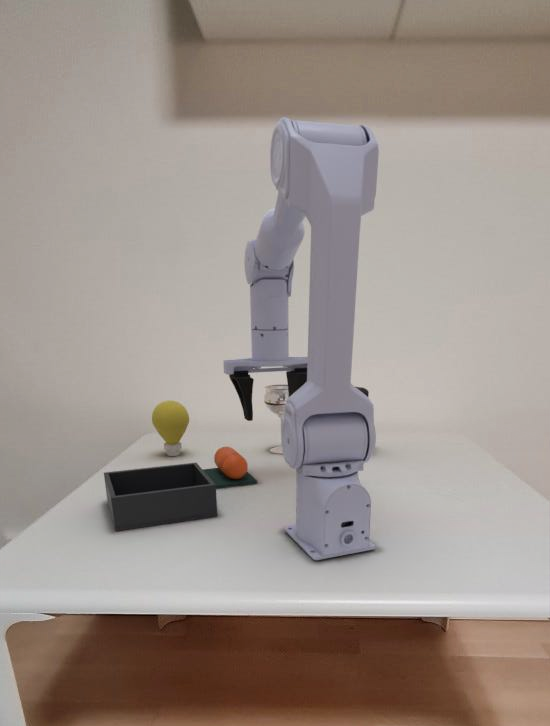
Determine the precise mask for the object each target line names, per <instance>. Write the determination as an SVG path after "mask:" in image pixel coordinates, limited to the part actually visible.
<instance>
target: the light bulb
mask: <svg viewBox="0 0 550 726" xmlns="http://www.w3.org/2000/svg"><path fill="white" fill-rule="evenodd" d="M151 421H152V422H151V423H152V425H153V427H154V428H155V430H156V432H157V433H158V434H159V436H160V437H161V438H162V440H163V441H164V443H163V450H164V451H166V456H168V457H178V456H180V455H181V451H180V450H182V449H183V446H182V445H183V444H182V442H180V441H181V439H182V438H183V436H184V434H185V432H186V431H187V428H188V426H189V423H190V415H189V412H188V410H187V408H186V407H185V406H184V405H183V404H182V403H181V402H178V401H175V400H165V401H164V400H163V401H161V402H159V403H158V404H157V405H156V406H155V407H154V409H153V411H152V414H151Z"/></svg>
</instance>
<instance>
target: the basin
mask: <svg viewBox="0 0 550 726" xmlns="http://www.w3.org/2000/svg"><path fill="white" fill-rule="evenodd" d="M103 478H104V486H105V493H106V501H107V506H108V509H109V513H110V518H111V521H112V524H113V528H114V531H115V532H120V531H128V530H133V529H140V528H148V527H154V526H161V525H168V524H174V523H175V524H176V523H181V522H187V521H194V520H201V519H209V518H214V517H218V501H217V499H218V498H217V488H216V485H215V484H214V482H213V481H212V480H211V479H210V478H209V477H208V475H207V474H206V473H205V472H204V471H203V468H202V467H201V466H200V465H199V464H198V462H188V463H179V464H169V465H160V466H152V467H151V466H150V467H142V468H141V467H140V468H133V469H132V468H131V469H124V470H113V471H105V472H103Z"/></svg>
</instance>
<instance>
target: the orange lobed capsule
mask: <svg viewBox="0 0 550 726" xmlns="http://www.w3.org/2000/svg"><path fill="white" fill-rule="evenodd" d="M214 453H215V454H214V456H213V457H214V458H213V459H214V464H215V466H216V468H219V469H220V470H221V471H222V472H223V473H224V474H225V475H226V476H227V477H228V478H230V479H240V478H242V477H243V476H244V475H245V474H246V472H248V470H249V467H248V466H249V465H248V461H247V460H246V458H245V457H244V456H243V455H241V454H240V453H239V452H238V451H237V450H235V449H234V448H233V447H230V446H222V447H219V448H218V449H217V450H216V451H215V452H214Z"/></svg>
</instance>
